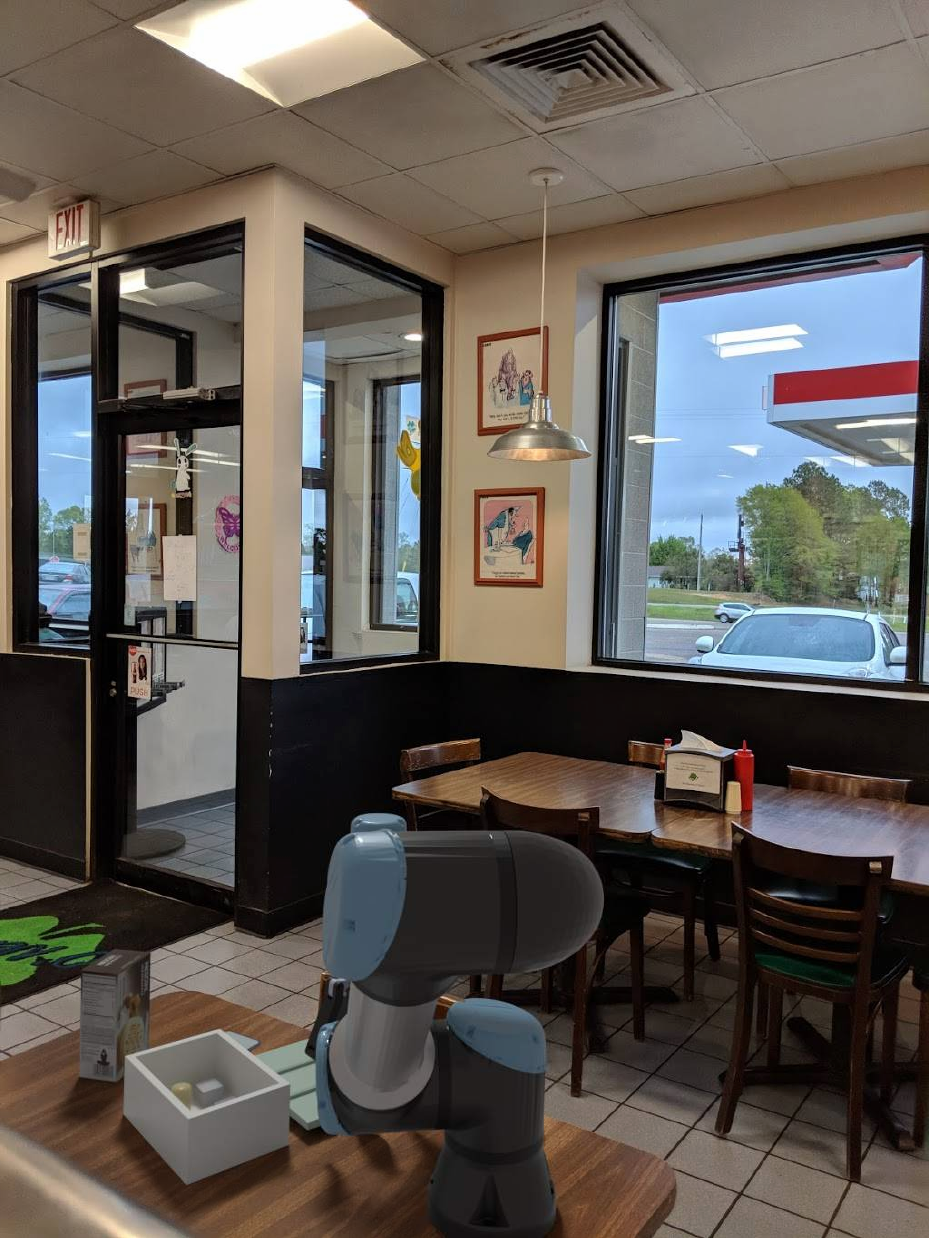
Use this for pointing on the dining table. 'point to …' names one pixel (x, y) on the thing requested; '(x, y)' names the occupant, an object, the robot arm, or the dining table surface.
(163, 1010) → the dining table surface
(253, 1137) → the tub
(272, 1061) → the lid
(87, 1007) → the coffee box
